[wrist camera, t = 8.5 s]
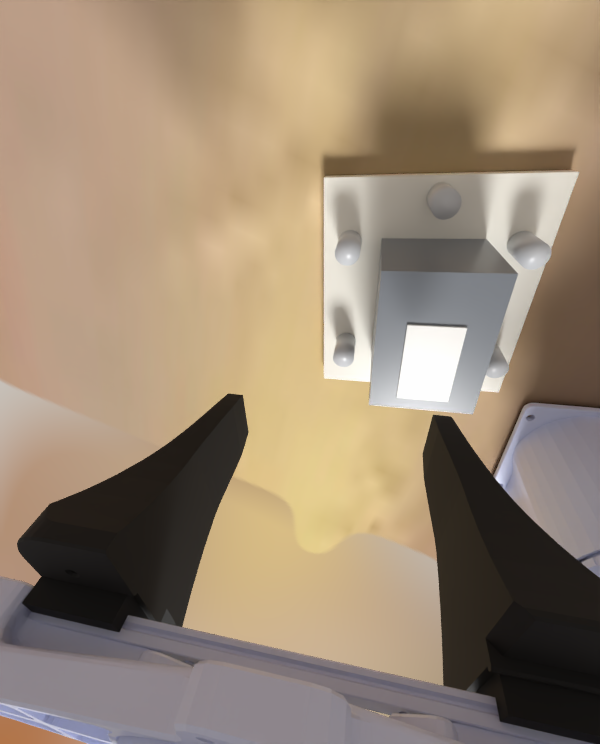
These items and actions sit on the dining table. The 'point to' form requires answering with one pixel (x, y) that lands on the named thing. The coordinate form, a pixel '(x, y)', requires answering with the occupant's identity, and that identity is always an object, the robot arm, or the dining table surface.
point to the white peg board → (432, 221)
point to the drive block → (436, 322)
